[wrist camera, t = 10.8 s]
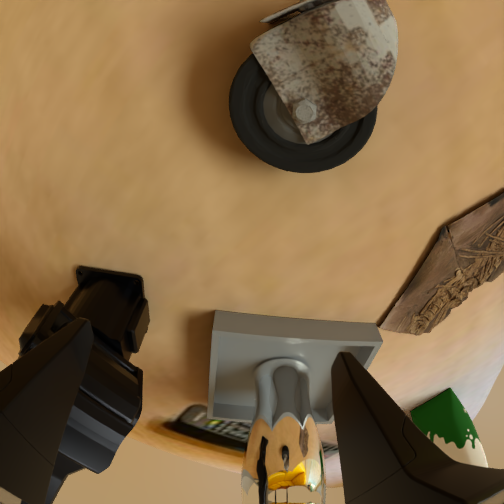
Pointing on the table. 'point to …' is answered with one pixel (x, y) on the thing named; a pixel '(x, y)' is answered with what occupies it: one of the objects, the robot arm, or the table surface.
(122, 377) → the robot arm
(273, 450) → the metal tumbler
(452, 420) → the milk carton
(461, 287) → the wooden fragment
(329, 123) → the caster wheel
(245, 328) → the tray
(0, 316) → the table surface
